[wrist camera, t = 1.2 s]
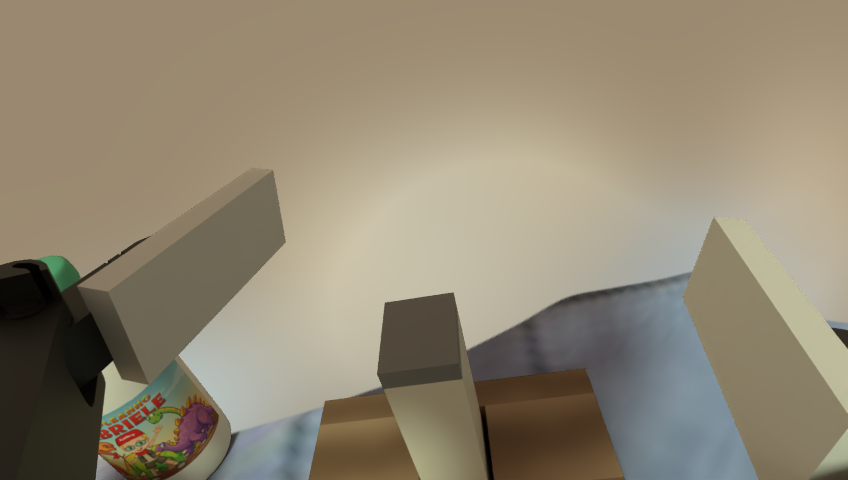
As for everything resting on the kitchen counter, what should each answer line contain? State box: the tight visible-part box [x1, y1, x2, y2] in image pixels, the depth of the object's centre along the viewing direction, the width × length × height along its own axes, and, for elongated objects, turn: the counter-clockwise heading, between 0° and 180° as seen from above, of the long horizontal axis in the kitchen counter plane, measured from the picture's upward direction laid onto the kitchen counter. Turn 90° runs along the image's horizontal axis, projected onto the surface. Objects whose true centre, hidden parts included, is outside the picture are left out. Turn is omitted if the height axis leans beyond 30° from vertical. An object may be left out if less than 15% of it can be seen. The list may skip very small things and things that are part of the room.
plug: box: [377, 293, 491, 480], centre depth 28 cm, size 5×4×15 cm
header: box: [309, 368, 625, 480], centre depth 31 cm, size 10×20×4 cm, turn 90°
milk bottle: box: [37, 256, 231, 480], centre depth 33 cm, size 8×8×20 cm
